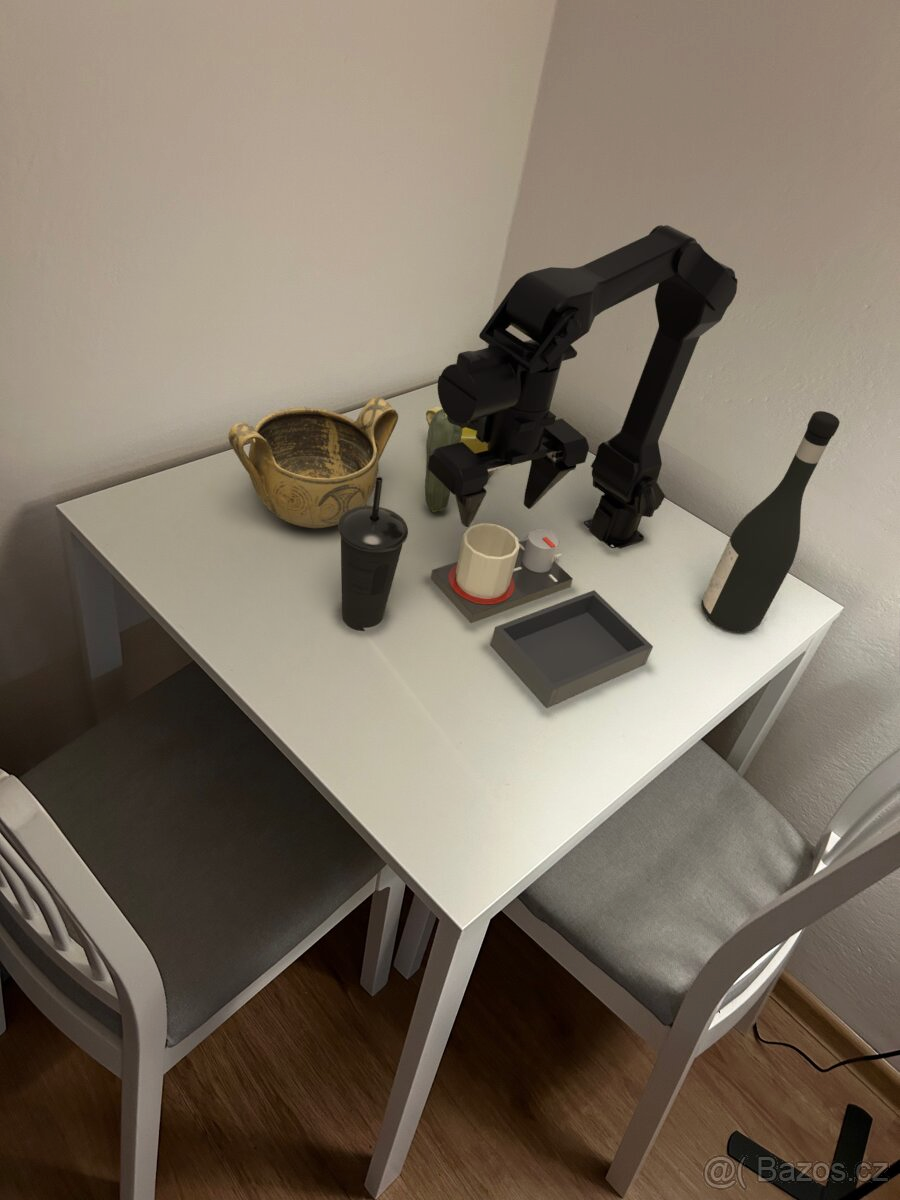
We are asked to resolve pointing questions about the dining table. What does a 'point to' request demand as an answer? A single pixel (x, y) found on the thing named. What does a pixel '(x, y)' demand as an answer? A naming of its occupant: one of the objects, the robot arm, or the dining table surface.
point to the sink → (570, 647)
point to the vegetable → (437, 437)
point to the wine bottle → (765, 541)
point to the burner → (470, 598)
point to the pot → (486, 560)
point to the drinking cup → (369, 560)
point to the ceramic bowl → (315, 460)
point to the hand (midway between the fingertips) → (496, 515)
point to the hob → (525, 588)
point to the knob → (540, 550)
